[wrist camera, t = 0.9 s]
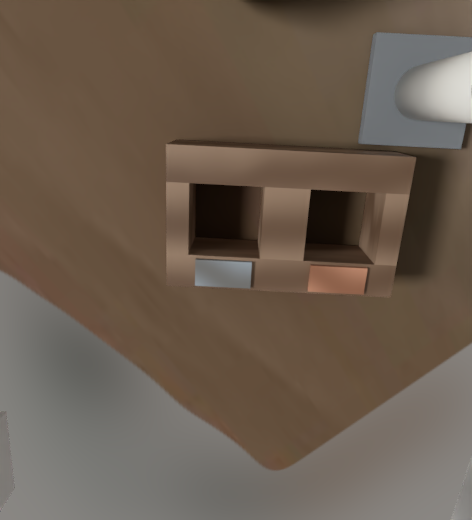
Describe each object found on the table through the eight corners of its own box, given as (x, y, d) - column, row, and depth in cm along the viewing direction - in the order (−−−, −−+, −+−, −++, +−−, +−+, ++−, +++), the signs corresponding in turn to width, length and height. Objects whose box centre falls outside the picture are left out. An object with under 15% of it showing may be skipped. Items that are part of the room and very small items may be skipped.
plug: (398, 62, 32) (505, 29, 19) (452, 65, 32) (597, 34, 19) (389, 119, 34) (483, 125, 20) (441, 122, 34) (569, 129, 20)
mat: (373, 34, 33) (377, 32, 32) (477, 40, 33) (484, 38, 32) (358, 143, 35) (361, 143, 34) (455, 148, 35) (460, 149, 34)
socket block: (176, 139, 35) (165, 144, 30) (393, 151, 35) (418, 157, 30) (175, 267, 39) (166, 289, 34) (372, 277, 39) (391, 301, 34)
